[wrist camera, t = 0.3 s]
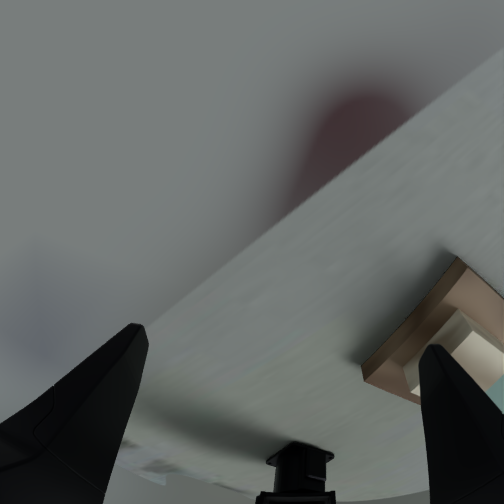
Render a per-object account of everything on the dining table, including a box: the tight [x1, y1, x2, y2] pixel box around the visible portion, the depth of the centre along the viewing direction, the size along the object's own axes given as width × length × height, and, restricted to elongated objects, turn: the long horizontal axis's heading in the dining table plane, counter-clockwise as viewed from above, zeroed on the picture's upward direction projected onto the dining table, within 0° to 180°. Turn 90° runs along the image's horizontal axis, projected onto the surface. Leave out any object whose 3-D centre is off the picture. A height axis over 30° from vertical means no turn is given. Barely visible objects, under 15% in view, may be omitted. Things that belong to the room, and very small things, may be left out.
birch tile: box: [403, 309, 504, 396], centre depth 22 cm, size 7×8×3 cm
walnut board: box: [361, 257, 504, 405], centre depth 24 cm, size 13×13×2 cm
